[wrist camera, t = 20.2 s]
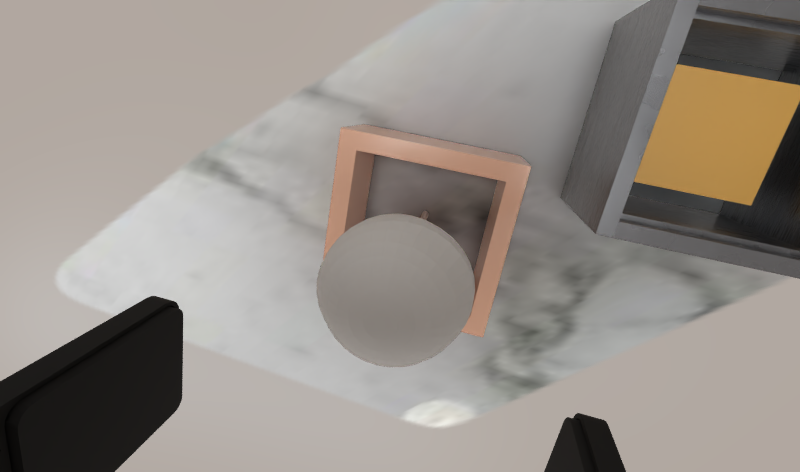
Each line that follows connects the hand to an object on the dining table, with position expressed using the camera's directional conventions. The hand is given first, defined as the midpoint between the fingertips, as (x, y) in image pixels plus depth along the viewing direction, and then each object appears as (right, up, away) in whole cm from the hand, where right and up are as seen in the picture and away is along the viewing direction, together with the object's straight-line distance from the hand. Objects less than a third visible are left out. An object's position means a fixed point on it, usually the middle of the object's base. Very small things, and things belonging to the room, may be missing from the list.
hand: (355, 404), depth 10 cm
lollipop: (+3, +6, +18) cm, 19 cm away
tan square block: (+17, +10, +14) cm, 24 cm away
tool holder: (+3, +5, +18) cm, 19 cm away
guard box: (+17, +10, +14) cm, 24 cm away
